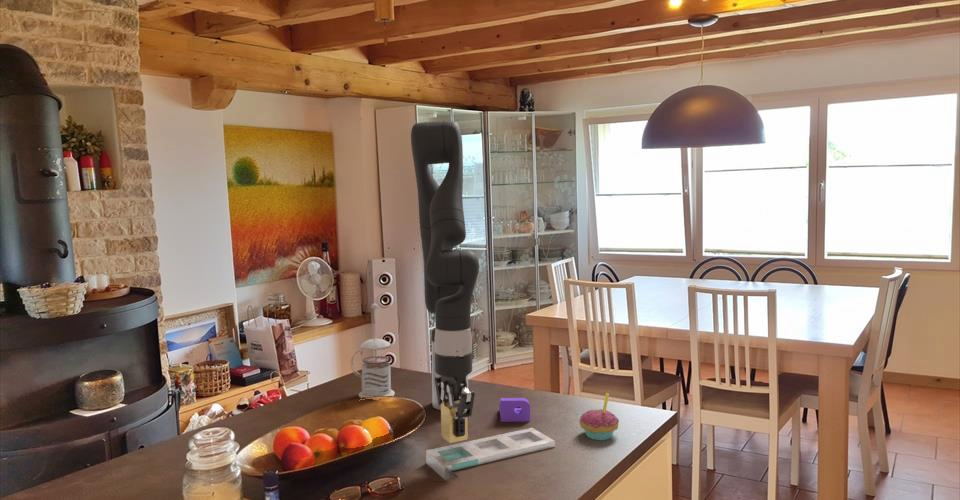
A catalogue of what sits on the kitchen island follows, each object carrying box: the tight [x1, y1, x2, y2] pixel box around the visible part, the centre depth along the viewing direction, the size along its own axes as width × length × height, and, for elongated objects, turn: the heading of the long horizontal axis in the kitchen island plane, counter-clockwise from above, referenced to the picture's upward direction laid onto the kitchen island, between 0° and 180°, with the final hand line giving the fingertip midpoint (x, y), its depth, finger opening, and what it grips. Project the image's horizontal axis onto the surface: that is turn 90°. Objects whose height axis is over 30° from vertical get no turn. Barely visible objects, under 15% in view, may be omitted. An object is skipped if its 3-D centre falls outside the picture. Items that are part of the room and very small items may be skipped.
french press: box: [350, 303, 396, 399], centre depth 187 cm, size 10×12×25 cm
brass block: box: [440, 401, 469, 444], centre depth 141 cm, size 4×4×7 cm
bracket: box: [498, 397, 531, 423], centre depth 169 cm, size 12×7×7 cm, turn 0°
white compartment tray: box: [425, 427, 556, 480], centre depth 145 cm, size 9×26×3 cm, turn 118°
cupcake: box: [579, 390, 620, 441], centre depth 153 cm, size 9×8×12 cm
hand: (454, 431), depth 141 cm, fingers closed on brass block, 4 cm apart
